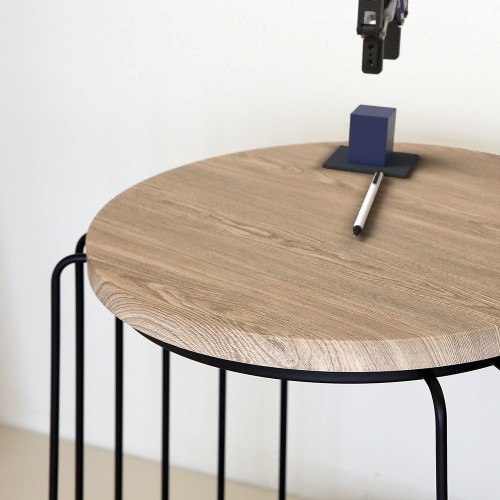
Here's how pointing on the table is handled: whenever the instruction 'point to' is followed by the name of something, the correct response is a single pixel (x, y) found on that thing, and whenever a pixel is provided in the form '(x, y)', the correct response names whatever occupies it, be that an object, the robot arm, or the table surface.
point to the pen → (367, 203)
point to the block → (371, 135)
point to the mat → (394, 168)
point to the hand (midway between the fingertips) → (381, 65)
